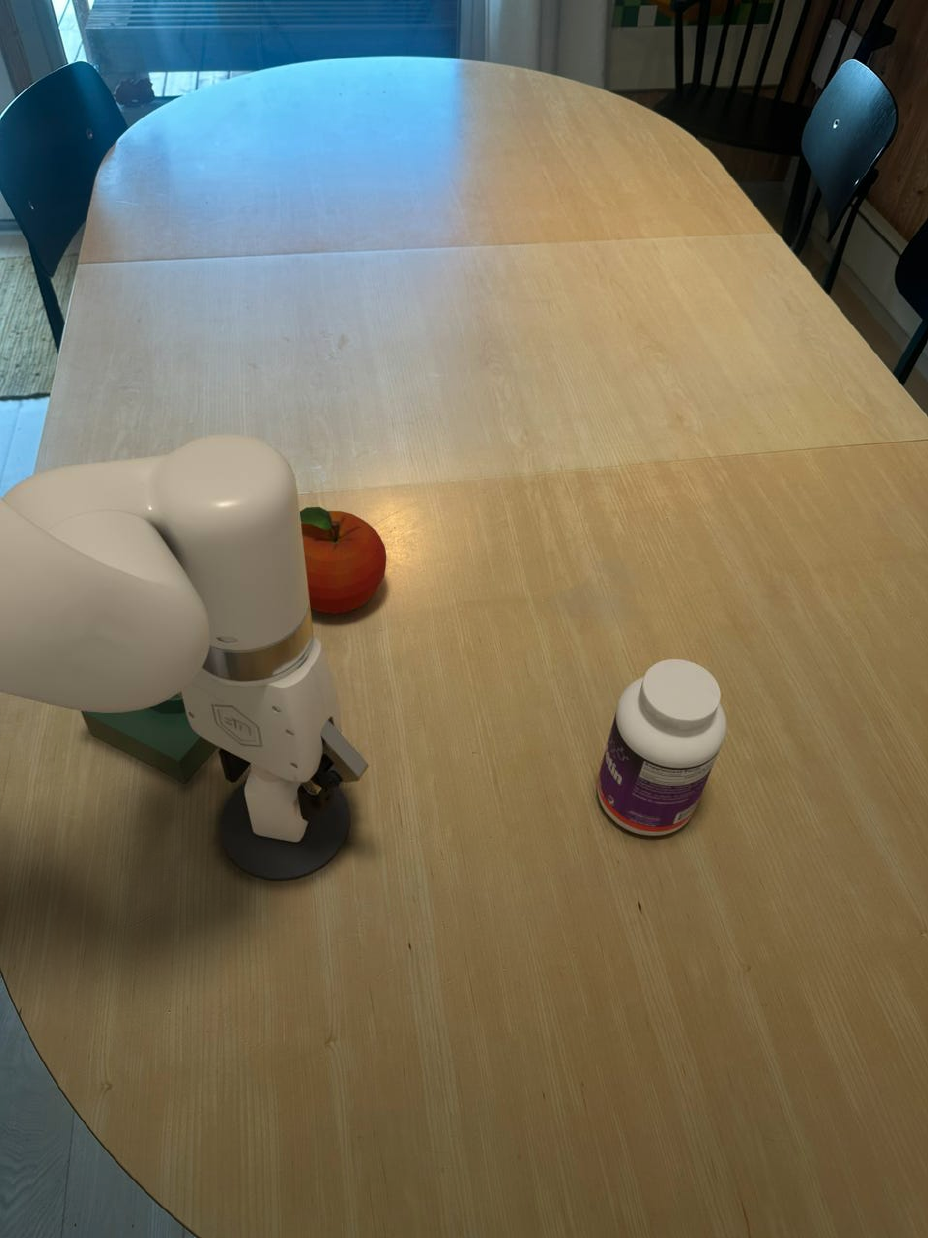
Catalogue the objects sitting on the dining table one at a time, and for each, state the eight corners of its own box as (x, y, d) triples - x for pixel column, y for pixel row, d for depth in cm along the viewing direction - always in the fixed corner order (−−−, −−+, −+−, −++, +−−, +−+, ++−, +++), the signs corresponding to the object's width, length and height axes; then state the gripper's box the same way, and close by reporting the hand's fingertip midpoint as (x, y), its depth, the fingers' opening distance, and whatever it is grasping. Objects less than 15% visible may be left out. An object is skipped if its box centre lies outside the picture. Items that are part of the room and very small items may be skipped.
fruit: (375, 637, 89) (372, 559, 82) (275, 622, 90) (262, 543, 83) (397, 566, 96) (396, 488, 88) (303, 553, 97) (294, 474, 89)
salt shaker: (316, 802, 77) (307, 732, 70) (301, 847, 74) (290, 778, 67) (267, 793, 77) (253, 722, 70) (251, 837, 74) (234, 767, 67)
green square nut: (185, 784, 78) (174, 748, 74) (90, 734, 81) (74, 697, 77) (273, 682, 85) (267, 645, 82) (182, 640, 88) (172, 602, 84)
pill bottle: (599, 749, 82) (627, 636, 71) (694, 765, 81) (737, 653, 71) (591, 832, 76) (620, 723, 66) (693, 850, 76) (739, 743, 65)
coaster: (302, 903, 71) (302, 901, 71) (194, 844, 74) (193, 841, 74) (373, 801, 78) (373, 798, 77) (270, 750, 80) (270, 747, 80)
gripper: (97, 611, 59) (154, 776, 72) (335, 724, 54) (350, 878, 67) (176, 539, 64) (217, 706, 77) (403, 637, 59) (405, 797, 72)
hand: (279, 785), depth 72 cm, fingers open, 6 cm apart
